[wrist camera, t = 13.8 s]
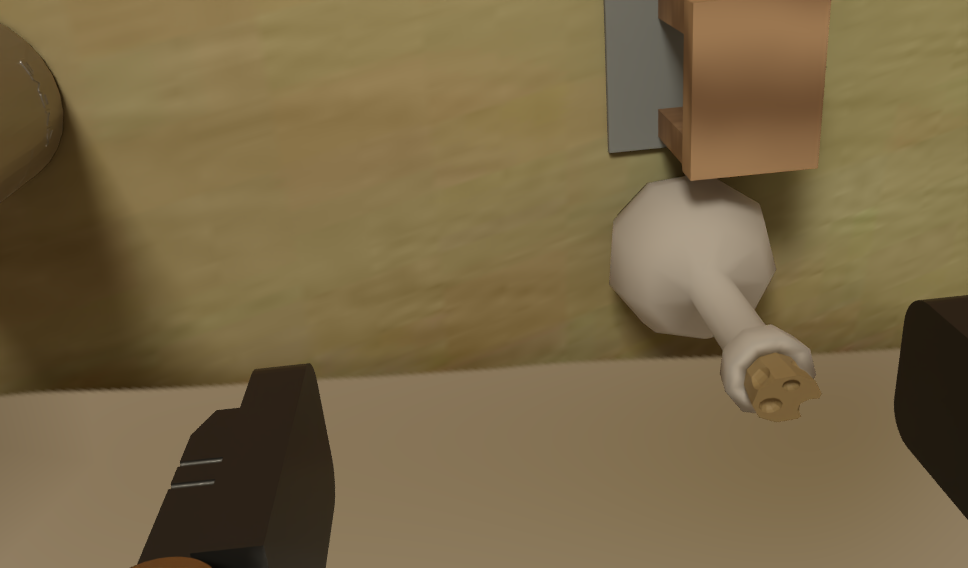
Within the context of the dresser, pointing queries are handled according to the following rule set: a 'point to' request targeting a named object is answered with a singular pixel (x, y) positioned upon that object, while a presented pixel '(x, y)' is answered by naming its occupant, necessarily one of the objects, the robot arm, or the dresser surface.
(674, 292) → the potion bottle
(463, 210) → the dresser surface
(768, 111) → the small wooden bench
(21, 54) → the robot arm
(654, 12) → the mat
